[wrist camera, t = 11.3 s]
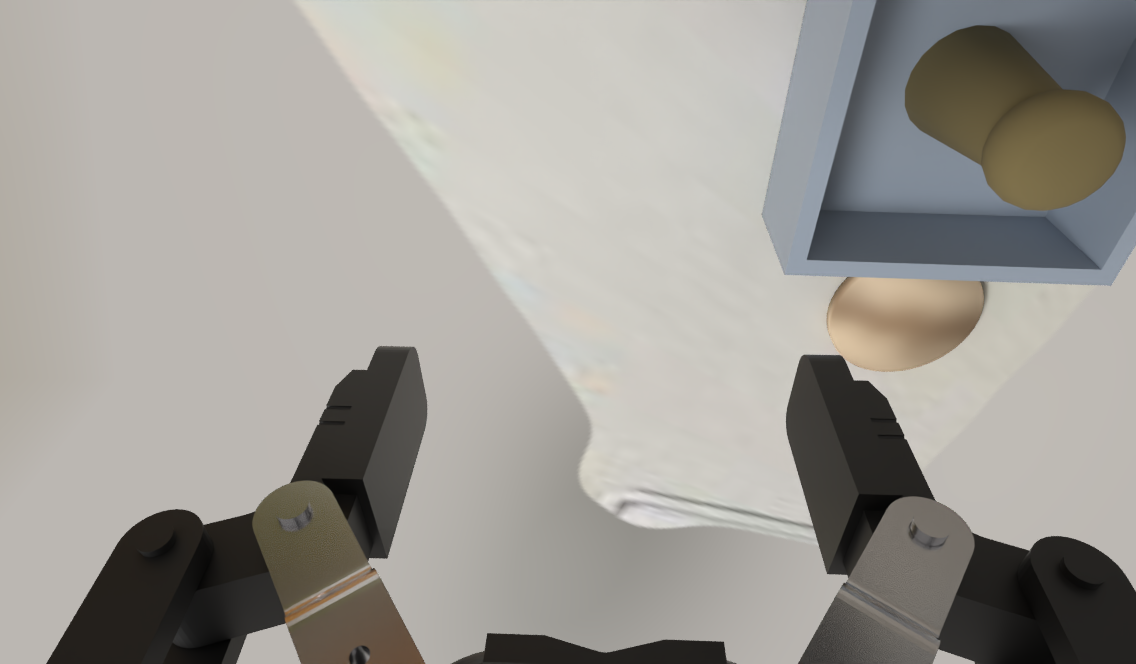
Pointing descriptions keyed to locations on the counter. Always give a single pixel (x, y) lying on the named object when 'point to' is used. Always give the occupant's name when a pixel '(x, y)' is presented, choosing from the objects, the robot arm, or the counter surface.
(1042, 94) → the pepper shaker
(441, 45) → the counter surface
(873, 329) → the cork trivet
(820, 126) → the bin
